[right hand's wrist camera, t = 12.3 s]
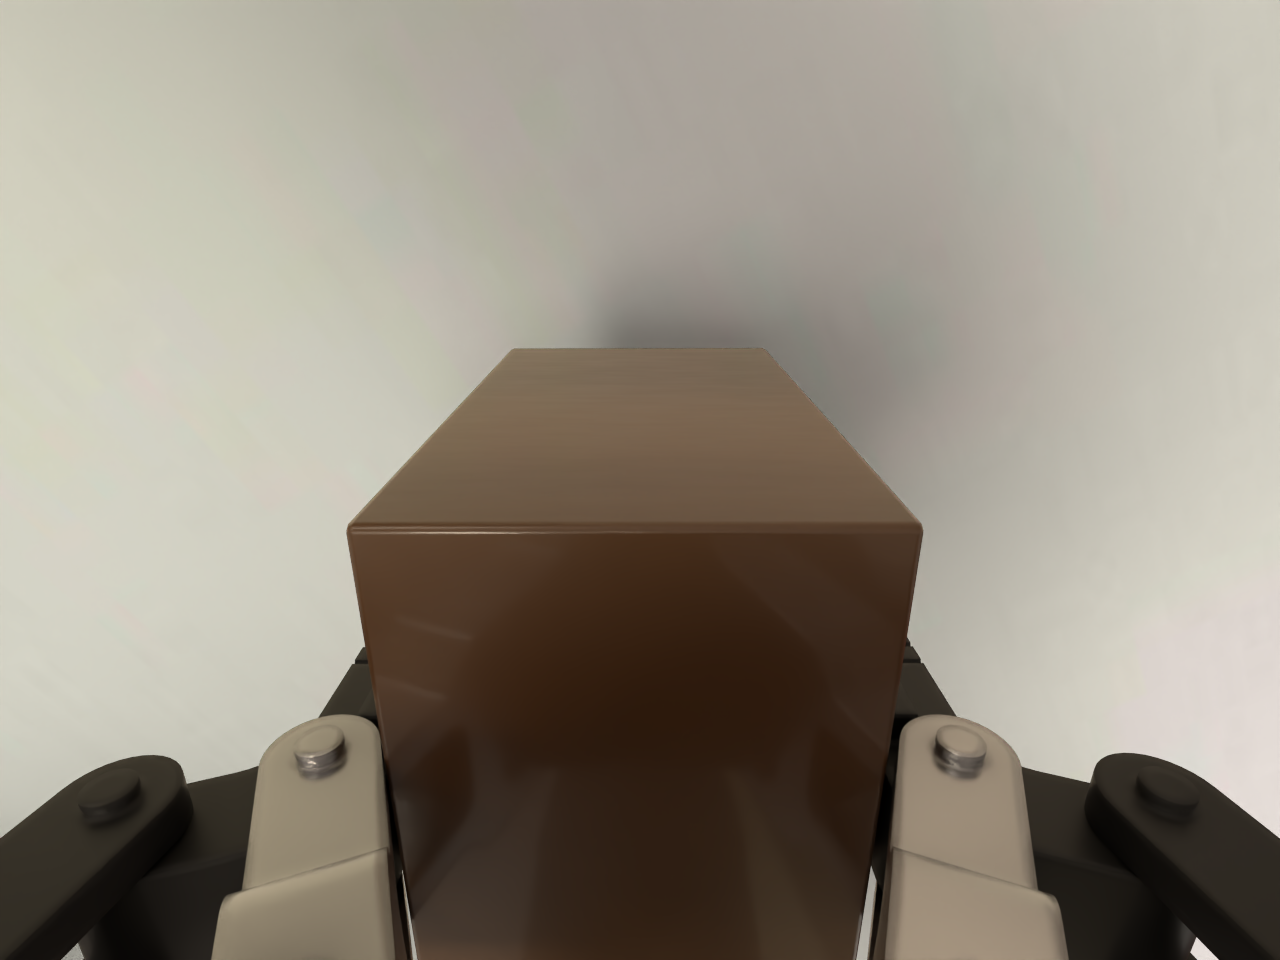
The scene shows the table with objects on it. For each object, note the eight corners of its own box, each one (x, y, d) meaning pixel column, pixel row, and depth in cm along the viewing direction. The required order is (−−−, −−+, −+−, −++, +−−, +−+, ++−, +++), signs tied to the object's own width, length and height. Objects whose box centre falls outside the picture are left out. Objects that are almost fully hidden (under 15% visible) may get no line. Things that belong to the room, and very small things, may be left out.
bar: (510, 348, 15) (340, 526, 6) (766, 347, 15) (928, 526, 6) (558, 1055, 23) (511, 1534, 15) (721, 1055, 23) (768, 1535, 15)
